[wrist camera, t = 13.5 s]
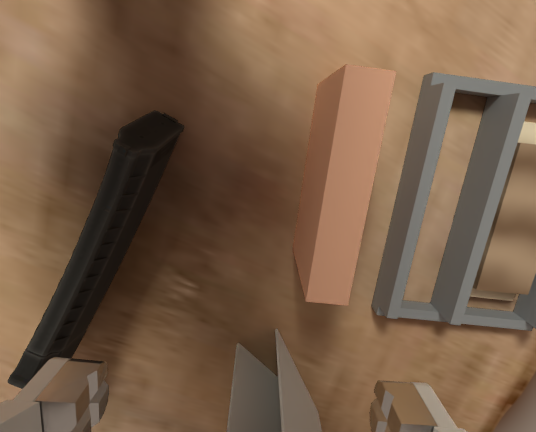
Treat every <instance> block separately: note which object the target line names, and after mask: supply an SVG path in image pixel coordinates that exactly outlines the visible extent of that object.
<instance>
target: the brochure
mask: <svg viewBox="0 0 536 432" xmlns="http://www.w3.org/2000/svg"><path fill="white" fill-rule="evenodd" d="M275 336H276V351H277V367H278V377H277V376H276V375H275V374H274V373H273V372H272V371H271V370H269V369H268V368H267V367H266V366H265V365H264V364H263V363H261V362H260V361H259V360H258V359H257V358H256V357H255V356H253V355H252V354H251V353H250V352H249V351H248V350H247V349H245V348H244V347H243V346H242V345H241V344H240V343H237V346H236V355H235V363H234V372H233V381H232V390H231V398H230V407H229V416H228V424H227V432H322V428H321V423H320V418H319V413H318V411H317V409H316V407H315V404H314V402H313V400H312V398H311V396H310V394H309V392H308V390H307V388H306V386H305V384H304V382H303V380H302V378H301V376H300V374H299V372H298V370H297V368H296V366H295V364H294V362H293V359H292V357H291V355H290V353H289V351H288V349H287V347H286V345H285V343H284V341H283V339H282V337H281V335H280V333H279V331H278V329H277V328H276V329H275Z"/></svg>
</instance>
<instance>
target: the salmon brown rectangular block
mask: <svg viewBox="0 0 536 432" xmlns="http://www.w3.org/2000/svg"><path fill="white" fill-rule="evenodd" d="M395 76H396V71H392V70H385V69H378V68H370V67H363V66H356V65H349V64H346V65H344V66H343V67H341V68H340V69H339V70H337V71H336V72H334V73H333V74H332V75H330V76H329V77H327V78H326V79H324V80H323V81H322V82H320V83H319V84H317V91H316V98H315V104H314V111H313V118H312V124H311V131H310V137H309V144H308V151H307V157H306V164H305V170H304V177H303V184H302V190H301V197H300V203H299V210H298V217H297V223H296V230H295V236H294V243H293V253H294V257H295V261H296V265H297V269H298V273H299V276H300V280H301V284H302V288H303V292H304V296H305V300H306V302H316V303H326V304H335V305H345V306H348V303H349V298H350V293H351V288H352V283H353V279H354V274H355V269H356V264H357V259H358V254H359V250H360V245H361V240H362V235H363V230H364V225H365V221H366V216H367V211H368V206H369V201H370V196H371V192H372V187H373V182H374V177H375V172H376V167H377V163H378V158H379V153H380V148H381V143H382V138H383V134H384V129H385V124H386V119H387V114H388V109H389V105H390V100H391V95H392V90H393V85H394V80H395Z"/></svg>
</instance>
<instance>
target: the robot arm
mask: <svg viewBox="0 0 536 432" xmlns="http://www.w3.org/2000/svg"><path fill="white" fill-rule="evenodd" d="M107 374H108V364H107V363H106V362H104V361H93V360H82V359H68V358H57V357H54V358H52V359H49V360H48V361H47V362H46V364H45V365H44V366H43V367H42V368H41V369H40V370H39V371H38V372H37V374H36V375H35V376H34V377H33V378H32V379H31V380H30V381H29V382H28V384H27V385H26V386H25V387H24V388H23V389H22V390H21V391H20V392H19V394H18V395H17V396H16V397H15V398H14V399H13V400H6V401H4V402H2V403H0V432H91V427H93V426H94V425H95V424H97V423H98V422H99V421H100V419H101V418H102V416H103V414H104V411H105V408H106V405H107V402H108V395H109V386H108V385H107V383H106V382H105V381H104V379H105V378H106V376H107ZM374 393H375V395H376V397H377V398H376V399H375V400H374V401H373V402H372V403H371V407H370V426H371V431H372V432H467V431H465V430H464V429H462V428H457V426H456V425H455V423H454V422H453V420H452V419H451V417H450V416H449V414H448V412H447V411H446V409H445V408H444V406H443V405H442V403H441V402H440V400H439V399H438V397H437V396H436V394H435V392H434V391H433V389H432V388H431V386H430V385H429V384H427V383H419V382H410V383H409V382H395V381H377V383H376V385H375V389H374Z"/></svg>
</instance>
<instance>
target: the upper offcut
mask: <svg viewBox="0 0 536 432" xmlns="http://www.w3.org/2000/svg"><path fill="white" fill-rule="evenodd" d="M535 274H536V144H527V143H517V146H516V149H515V152H514V156H513V159H512V162H511V165H510V168H509V172H508V175H507V178H506V181H505V185H504V188H503V191H502V194H501V197H500V201H499V204H498V207H497V210H496V213H495V217H494V220H493V223H492V226H491V230H490V233H489V236H488V239H487V242H486V246H485V249H484V252H483V255H482V259H481V262H480V265H479V268H478V271H477V275H476V278H475V281H474V284H473V288H475V289H476V290H483V291H494V292H504V293H515V294H526V295H528V294H529V291H530V288H531V285H532V282H533V279H534V277H535Z"/></svg>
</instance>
